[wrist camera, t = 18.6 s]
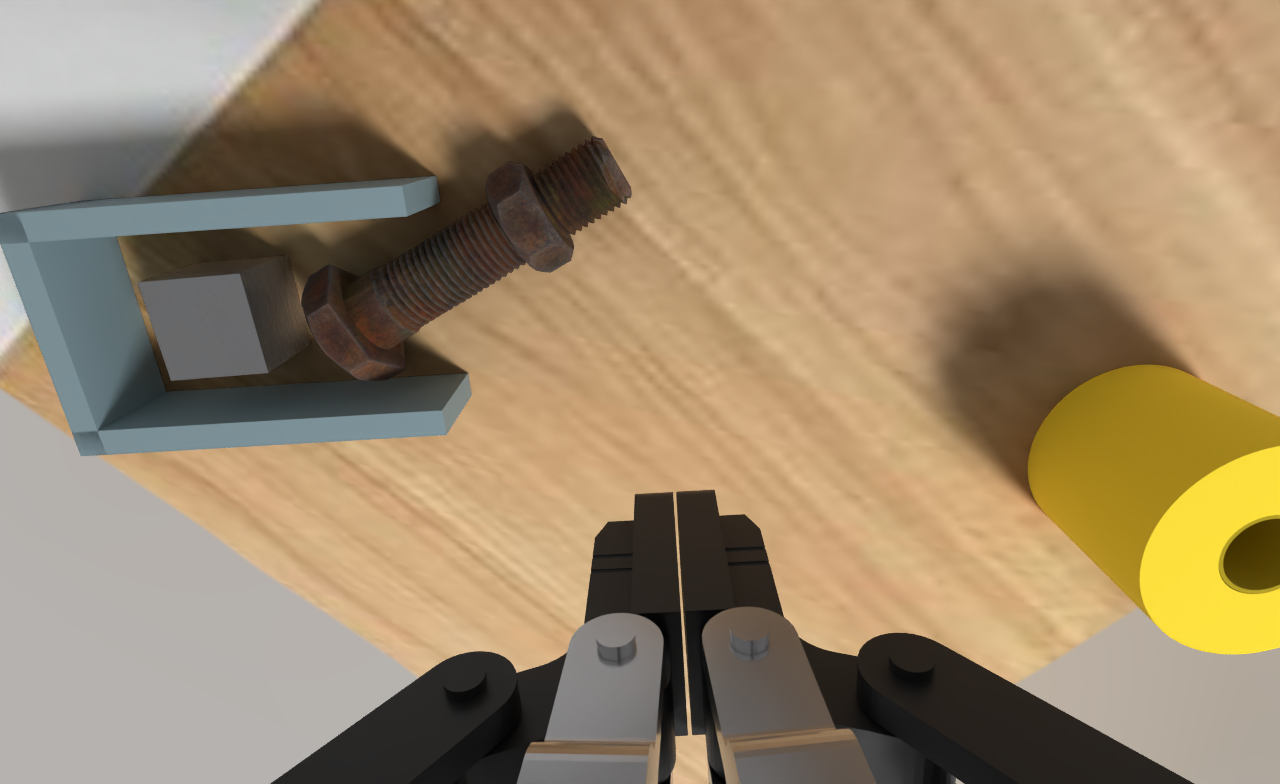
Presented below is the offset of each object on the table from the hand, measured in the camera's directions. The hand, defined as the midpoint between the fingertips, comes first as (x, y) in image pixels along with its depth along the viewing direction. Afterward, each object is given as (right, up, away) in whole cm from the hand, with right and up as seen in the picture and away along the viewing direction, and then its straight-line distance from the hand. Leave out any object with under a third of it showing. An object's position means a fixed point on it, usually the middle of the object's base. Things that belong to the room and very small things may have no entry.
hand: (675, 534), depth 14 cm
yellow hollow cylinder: (+25, -1, +25) cm, 35 cm away
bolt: (-8, +10, +21) cm, 25 cm away
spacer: (-20, +7, +22) cm, 31 cm away
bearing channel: (-18, +7, +22) cm, 30 cm away
